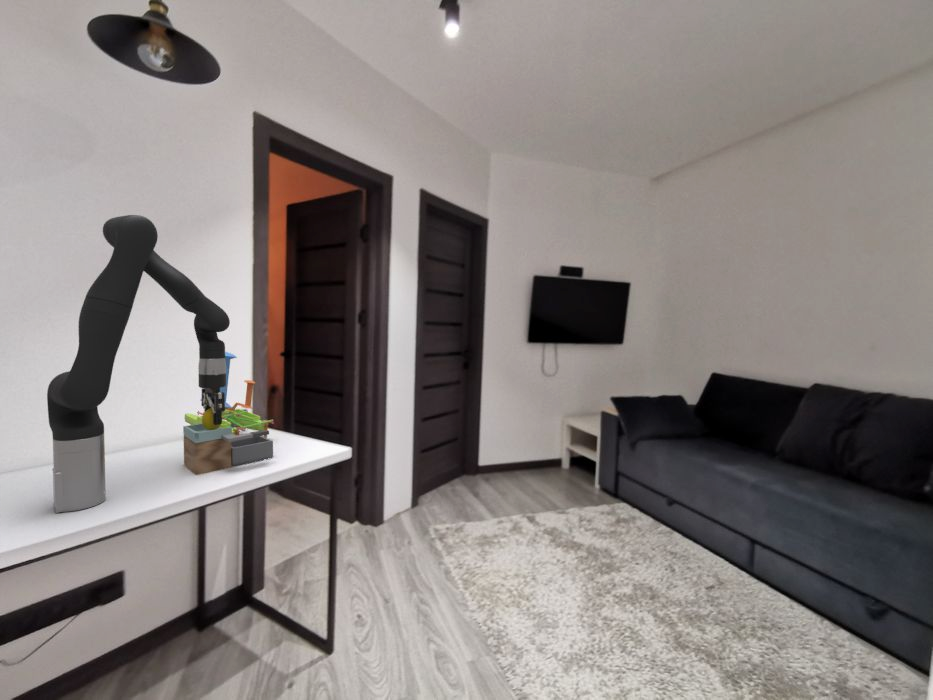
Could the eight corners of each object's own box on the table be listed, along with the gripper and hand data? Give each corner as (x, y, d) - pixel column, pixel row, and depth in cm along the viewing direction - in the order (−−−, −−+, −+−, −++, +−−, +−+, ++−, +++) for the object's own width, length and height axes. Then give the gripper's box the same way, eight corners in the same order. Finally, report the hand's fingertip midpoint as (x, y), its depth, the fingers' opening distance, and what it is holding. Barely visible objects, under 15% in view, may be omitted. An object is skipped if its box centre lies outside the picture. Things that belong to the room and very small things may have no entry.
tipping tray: (202, 447, 117) (201, 437, 117) (183, 435, 130) (183, 426, 129) (269, 434, 132) (268, 425, 131) (246, 424, 144) (246, 416, 144)
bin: (232, 466, 130) (232, 448, 129) (218, 457, 138) (218, 440, 138) (273, 458, 139) (273, 440, 139) (257, 450, 148) (257, 433, 147)
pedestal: (196, 475, 122) (195, 443, 121) (184, 465, 130) (183, 435, 130) (231, 467, 129) (231, 437, 129) (217, 458, 137) (217, 430, 137)
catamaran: (220, 428, 172) (228, 348, 169) (275, 449, 161) (285, 363, 158) (177, 438, 156) (185, 350, 152) (235, 462, 145) (245, 367, 141)
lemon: (200, 434, 127) (198, 409, 126) (206, 430, 132) (204, 406, 131) (219, 433, 128) (218, 408, 128) (225, 429, 134) (223, 405, 133)
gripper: (192, 371, 131) (192, 420, 132) (206, 375, 122) (207, 428, 123) (217, 369, 137) (218, 417, 138) (233, 373, 127) (233, 424, 128)
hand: (213, 422), depth 130 cm, fingers open, 8 cm apart
